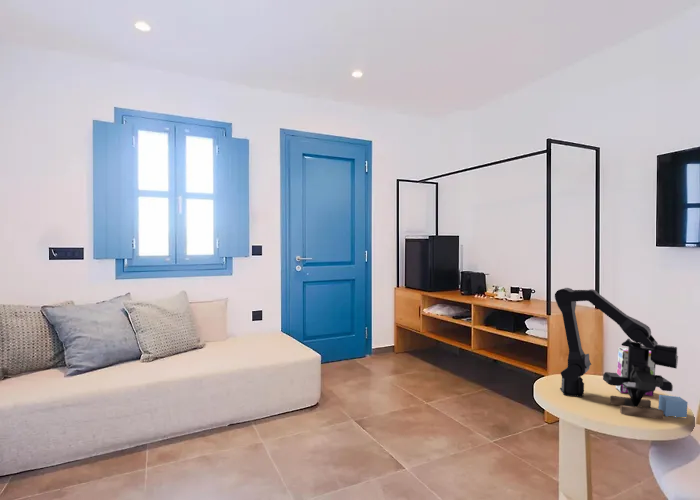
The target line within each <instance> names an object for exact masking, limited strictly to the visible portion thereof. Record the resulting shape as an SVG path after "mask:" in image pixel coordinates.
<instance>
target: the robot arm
mask: <svg viewBox="0 0 700 500" xmlns="http://www.w3.org/2000/svg"><path fill="white" fill-rule="evenodd" d="M554 299H555V302H556V306H557V307H558V309H559V310H560V312H561V315H562V319H563V325H564V332H565V336H566V342H567V347H568V355H567V356H568V357H567V367H565V369H563V370H561V371H560V376H561V387H560V388H559V390H560V391H561V392H562V394H563V395H564V396H569V397H571V396H572V397H579V398H584V397H585V396H584V393H585V382H584V381H583V378H582V376H584V375H585V374H587V372H588V371H589V370H590V367H591V365H592V363H591V361H590V353H585V352H584V350H583V347H582V342H581V341H582V340H581V338H580V336H581V335H580V331H579V326H578V321H577V316H576V308H577V307H576V306H577V302H589V303H590V304H592V305H593V306H594V307H595V308H597V309H598V310H599V311H601V312H602V313H604V315H605V316H606V317H608V318H610V319H611V320H612V321H614V322H615V323H616V324H617V325H618V327H620V329H621V330H622V331H623V333H624V334H625V335H626V336H627V337H628V338H627V339H626V340H625V341H623V342H622V343H621V346H623V347H626V348H628V361H626V364H627V372H625V375H626V376H627V377H621V376H619V375H618V374H617V372H609V371H605V372H604V373H603V375H602V380H603V381H604V382H605V383H606V384H607V385H610V386H615V387H616V386H621V385H624V386H625V387H626V389H627V390H628V393H629V394H628V393H627V394H628V395H629V398H631V400H632V403H633V405H634V406H636V407H637V406H638V404H639V403H640V401H641V399H643V397H644V396H646V395H645V393H647V392H649V391H654V392H655V391H656V388H659V389H660V390H661V391H662V392H665V391H666V392H673V387H674V386H673V383H672V381H669V380H668V379H666V378H665V377H663V376H662V375H658V374H655V375H651V372H650V367H649V366H648V361H649V351H651V361H652V362H654V363H655V366H661V367H666V368H671V369H678V360H679V356H678V347H677V346H671V345H670V346H669V345H668V346H667V345H663V344H658V341H656V339H655V338H654V337H653V335H652V331H651V328H650V327H649V325H647V324H646V323H643V322H642V321H640V320H638V319H636V318H634V317H631V316H629V315H627V314H626V313H625V312H624V311H622V310H620V308H618V307H617V306H616V305H614V304H613V303H612V302H610V301H609V300H608V299H607V298H605V297H604V296H602V295H601V294H600V293H598V291H597V290H595V289H572V288H570V287H564V288H561V289H558V290H556V292H555V293H554ZM630 380H631V381H630Z"/></svg>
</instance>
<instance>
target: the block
mask: <svg viewBox="0 0 700 500" xmlns="http://www.w3.org/2000/svg"><path fill="white" fill-rule="evenodd" d="M658 409H661V410H663V416H665V417H668V416H674V417H673V418H677V417H687V416H688V401H686V400H685V399H684V398H682V397H681V396H676V395H675V396H674V395H664V394H659V395H658ZM675 416H676V417H675ZM687 418H688V417H687Z"/></svg>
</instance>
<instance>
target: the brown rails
mask: <svg viewBox="0 0 700 500" xmlns="http://www.w3.org/2000/svg"><path fill="white" fill-rule="evenodd" d="M609 397H610V398H609V403H610V404H611V405H619V413H620V415H628V416H637V417H643V418H644V417H646V418H653V419H654V418H655V419H664V415H663V410H661V409H657V408H651V407H652V405H651V404H652V403H651V402H652V401H651V400H650V399H645V398H642V399H641V401H640V403H639V404H638V406H637V407H636V406H634V405H633V403H632V400H631V398H630V397H627V396H626V397H625V396H618V395H610V396H609Z"/></svg>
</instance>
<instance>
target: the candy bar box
mask: <svg viewBox="0 0 700 500" xmlns="http://www.w3.org/2000/svg"><path fill="white" fill-rule="evenodd" d="M626 361H628V347H626V348H625V347H618V348H617V363H616V373H617V374H618V375H619V376H621V377H627V376H626V375H625V372H627V364H626ZM648 366H649V367H650V372H651V375H656V373H655V372H656V365H655V363H654V362H652V361H651V351H649V361H648ZM630 381H631V380H630ZM615 389H616V390H617V391H618V392H619V393H621V394H622V393H623V394H628V395H629V393H628V390H627V389H626V387H625V386H624V385H621V386H615ZM654 392H655V391H649V392H647V393H645V395H644V396H648V397H654V394H655V393H654Z"/></svg>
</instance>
